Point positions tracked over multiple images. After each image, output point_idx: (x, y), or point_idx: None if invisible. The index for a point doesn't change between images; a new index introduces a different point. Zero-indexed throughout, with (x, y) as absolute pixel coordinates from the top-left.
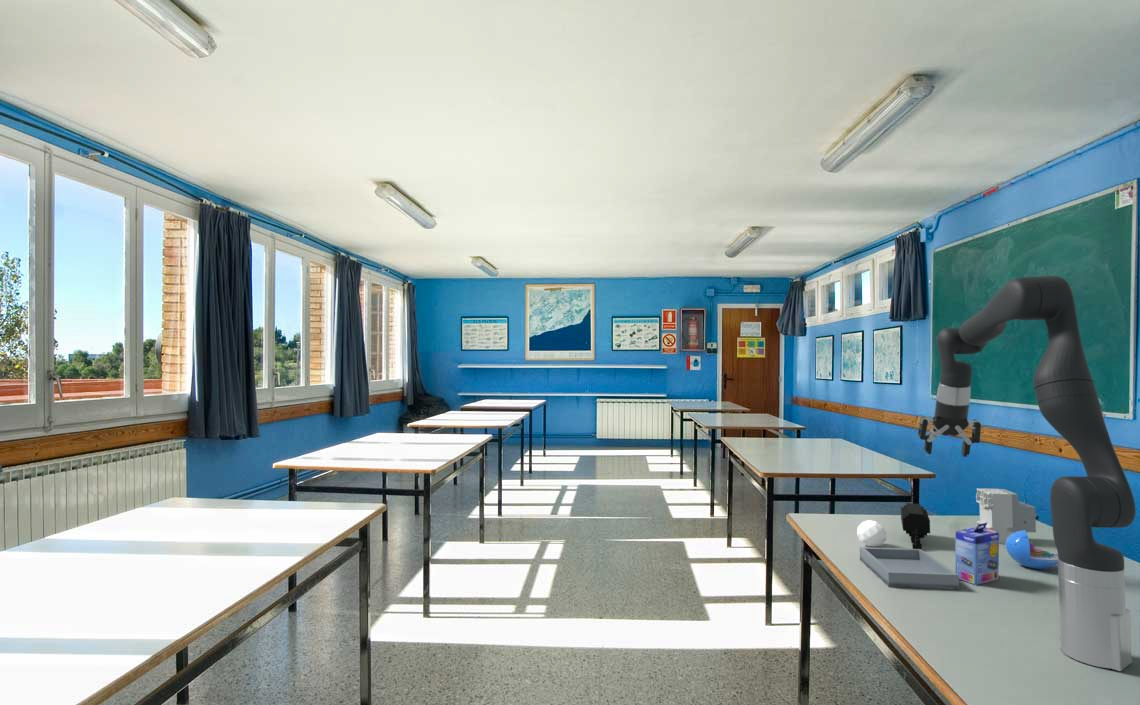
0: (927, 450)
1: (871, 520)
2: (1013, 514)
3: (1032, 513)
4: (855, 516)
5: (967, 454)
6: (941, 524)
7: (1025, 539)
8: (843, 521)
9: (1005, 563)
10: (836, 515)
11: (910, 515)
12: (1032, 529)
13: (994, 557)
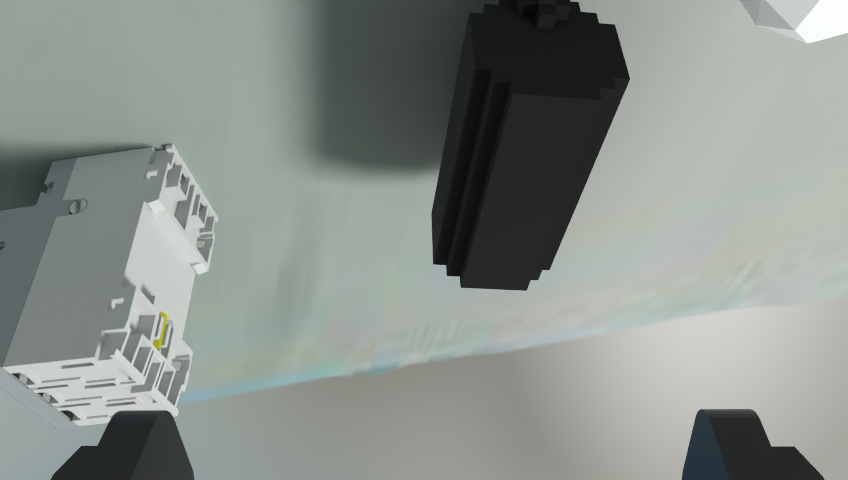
0: (786, 473)
1: (841, 18)
2: (32, 272)
3: None
4: (646, 311)
5: (94, 453)
6: (337, 303)
7: None
8: (732, 249)
9: None
10: (721, 305)
11: (588, 89)
12: None
13: None
